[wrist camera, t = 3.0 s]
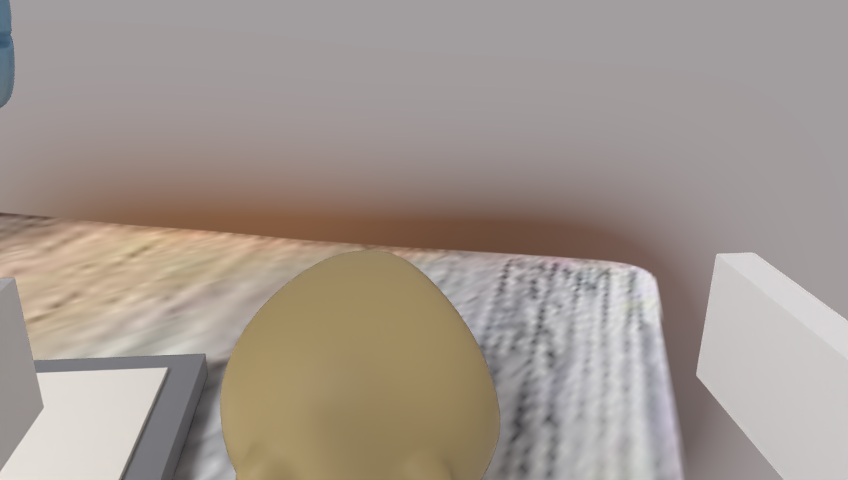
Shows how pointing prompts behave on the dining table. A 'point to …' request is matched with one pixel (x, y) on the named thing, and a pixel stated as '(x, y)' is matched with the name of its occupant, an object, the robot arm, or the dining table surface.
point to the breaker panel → (110, 418)
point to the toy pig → (359, 380)
